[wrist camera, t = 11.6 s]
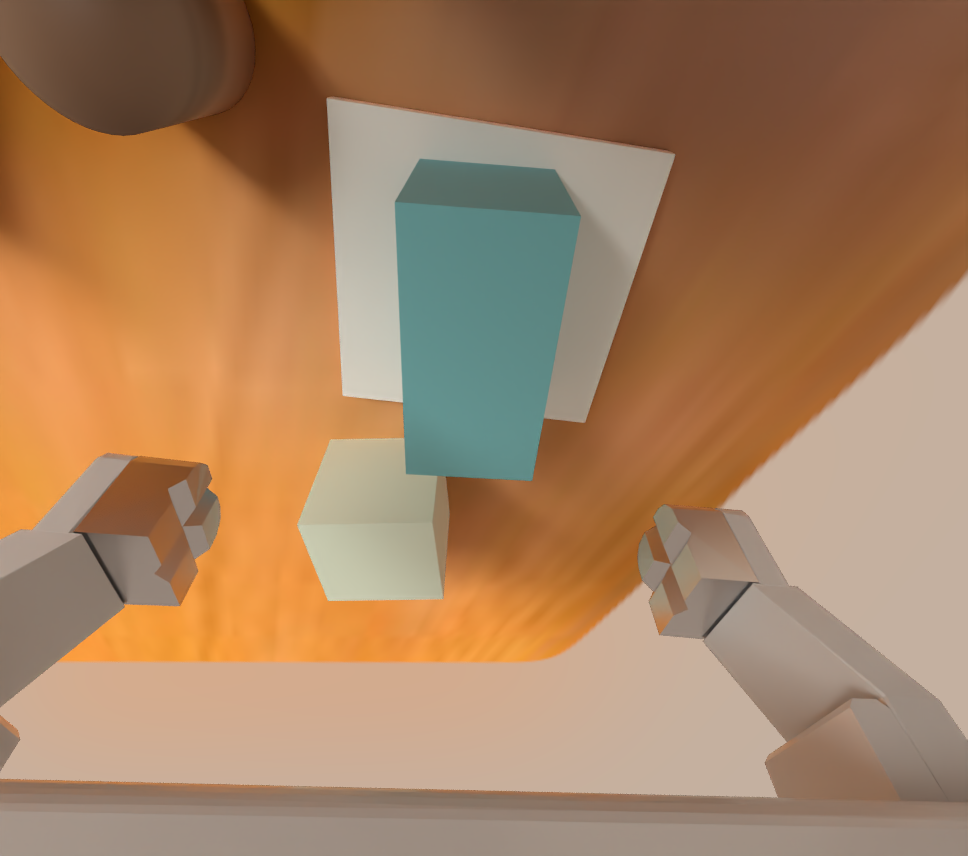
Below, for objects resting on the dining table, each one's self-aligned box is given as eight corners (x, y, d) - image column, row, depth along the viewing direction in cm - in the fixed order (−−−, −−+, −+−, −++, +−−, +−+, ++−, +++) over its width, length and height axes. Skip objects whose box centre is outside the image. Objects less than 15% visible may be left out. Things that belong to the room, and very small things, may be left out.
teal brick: (419, 158, 14) (394, 202, 10) (555, 169, 14) (580, 216, 10) (422, 386, 19) (405, 474, 15) (522, 392, 19) (532, 480, 15)
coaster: (346, 387, 20) (342, 395, 19) (331, 96, 14) (326, 98, 13) (582, 414, 21) (584, 422, 20) (669, 150, 15) (675, 154, 14)
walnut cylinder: (122, 103, 14) (17, 120, 11) (67, -98, 11) (-90, -152, 8) (265, 125, 14) (203, 148, 11) (241, -65, 12) (153, -106, 9)
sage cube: (330, 438, 22) (352, 513, 25) (297, 525, 18) (328, 600, 21) (441, 436, 22) (449, 511, 25) (432, 522, 18) (443, 599, 21)
